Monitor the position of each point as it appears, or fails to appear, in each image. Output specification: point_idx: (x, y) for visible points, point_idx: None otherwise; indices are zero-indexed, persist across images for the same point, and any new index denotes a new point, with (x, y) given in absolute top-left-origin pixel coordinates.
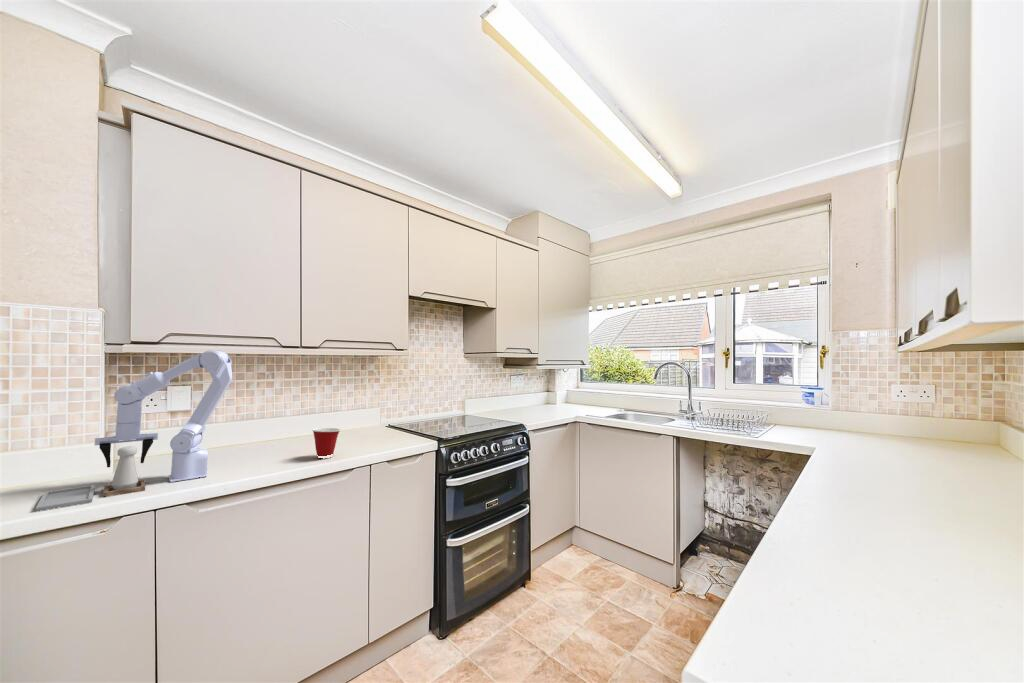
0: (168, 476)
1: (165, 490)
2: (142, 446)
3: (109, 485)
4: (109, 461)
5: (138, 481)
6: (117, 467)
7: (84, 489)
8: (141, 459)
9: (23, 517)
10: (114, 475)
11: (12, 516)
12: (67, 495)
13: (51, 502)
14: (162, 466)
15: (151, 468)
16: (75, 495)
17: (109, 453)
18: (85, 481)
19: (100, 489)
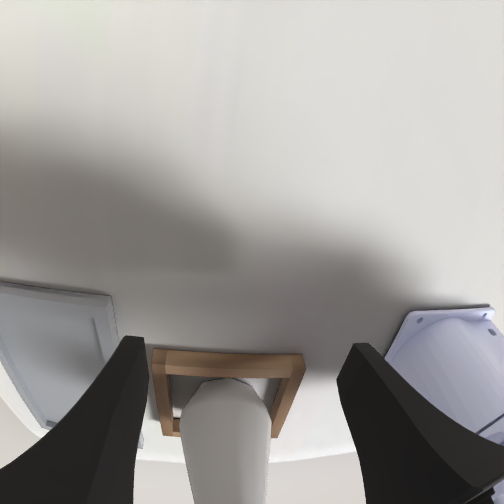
0: (403, 327)
1: (315, 440)
2: (403, 480)
3: (170, 373)
4: (137, 425)
5: (281, 376)
6: (195, 494)
7: (78, 319)
8: (344, 411)
9: (42, 431)
10: (186, 460)
11: (17, 413)
12: (51, 359)
13: (43, 396)
14: (473, 20)
15: (429, 8)
16: (77, 378)
17: (128, 497)
18: (55, 82)
19: (138, 336)
